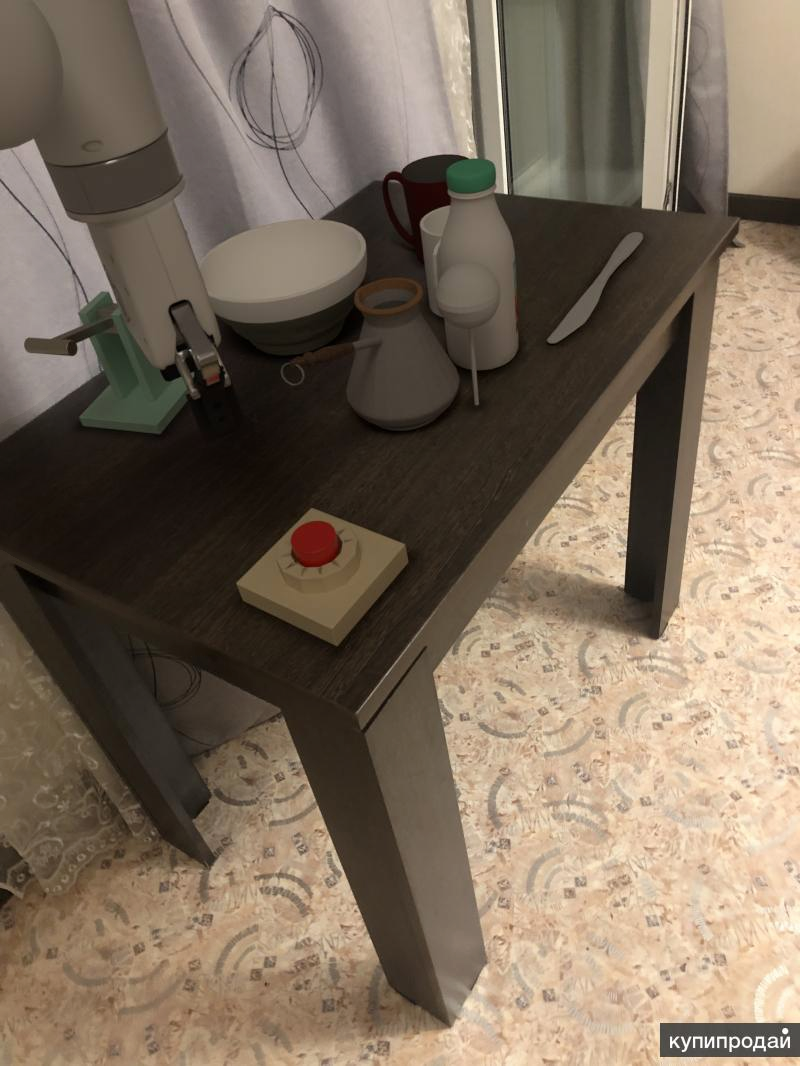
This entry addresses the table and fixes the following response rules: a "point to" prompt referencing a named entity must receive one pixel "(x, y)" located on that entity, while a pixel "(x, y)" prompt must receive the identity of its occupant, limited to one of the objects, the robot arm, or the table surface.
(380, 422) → the coffee pot
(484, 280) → the lollipop
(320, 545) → the button
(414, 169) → the mug
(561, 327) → the butter knife
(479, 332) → the milk bottle
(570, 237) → the table surface
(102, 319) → the lever handle
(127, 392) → the green lever stand
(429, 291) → the cup
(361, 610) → the block
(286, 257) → the bowl
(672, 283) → the table surface
